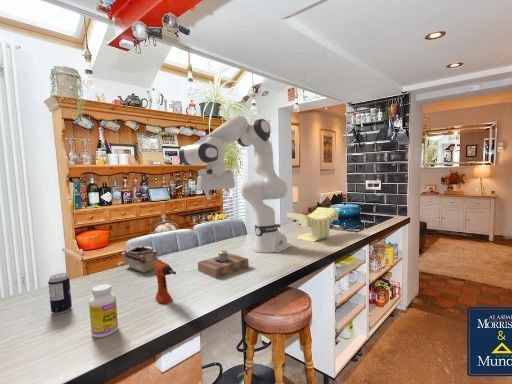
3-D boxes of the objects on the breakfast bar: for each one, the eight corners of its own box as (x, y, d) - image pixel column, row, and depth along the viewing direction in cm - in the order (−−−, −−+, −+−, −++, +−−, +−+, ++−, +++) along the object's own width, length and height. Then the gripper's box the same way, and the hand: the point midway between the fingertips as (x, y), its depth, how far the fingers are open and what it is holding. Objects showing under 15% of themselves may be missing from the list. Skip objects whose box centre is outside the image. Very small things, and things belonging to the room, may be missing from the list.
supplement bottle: (103, 340, 74) (99, 293, 74) (85, 336, 77) (81, 290, 76) (123, 327, 81) (120, 284, 80) (106, 323, 83) (103, 281, 82)
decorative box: (132, 278, 121) (130, 256, 120) (114, 268, 135) (113, 249, 134) (160, 269, 130) (159, 249, 130) (141, 261, 144) (140, 243, 144)
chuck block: (230, 261, 138) (229, 253, 138) (248, 267, 128) (248, 258, 127) (198, 270, 126) (197, 262, 126) (215, 278, 116) (215, 269, 115)
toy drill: (172, 313, 85) (166, 265, 85) (153, 300, 99) (149, 260, 100) (186, 308, 88) (181, 262, 88) (166, 296, 102) (162, 257, 102)
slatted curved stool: (307, 245, 161) (306, 214, 160) (288, 240, 174) (286, 212, 173) (338, 236, 180) (337, 208, 179) (318, 232, 193) (318, 207, 191)
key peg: (224, 267, 129) (223, 250, 129) (230, 268, 127) (229, 251, 126) (217, 269, 127) (216, 252, 126) (222, 271, 124) (221, 253, 123)
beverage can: (74, 310, 93) (71, 274, 92) (53, 317, 89) (50, 280, 88) (69, 305, 97) (66, 271, 96) (49, 311, 92) (45, 276, 92)
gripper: (229, 170, 147) (230, 196, 148) (194, 171, 133) (196, 200, 134) (236, 169, 142) (237, 196, 143) (201, 170, 128) (203, 200, 129)
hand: (217, 198), depth 138 cm, fingers open, 8 cm apart
